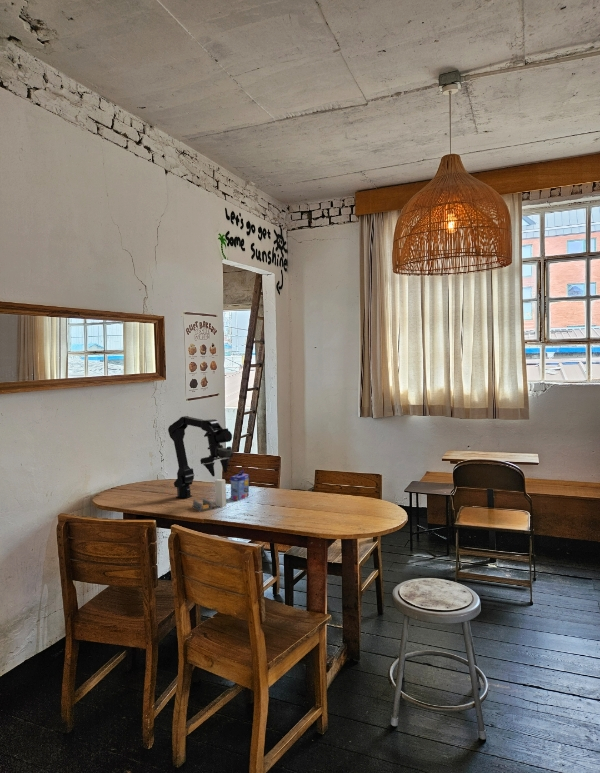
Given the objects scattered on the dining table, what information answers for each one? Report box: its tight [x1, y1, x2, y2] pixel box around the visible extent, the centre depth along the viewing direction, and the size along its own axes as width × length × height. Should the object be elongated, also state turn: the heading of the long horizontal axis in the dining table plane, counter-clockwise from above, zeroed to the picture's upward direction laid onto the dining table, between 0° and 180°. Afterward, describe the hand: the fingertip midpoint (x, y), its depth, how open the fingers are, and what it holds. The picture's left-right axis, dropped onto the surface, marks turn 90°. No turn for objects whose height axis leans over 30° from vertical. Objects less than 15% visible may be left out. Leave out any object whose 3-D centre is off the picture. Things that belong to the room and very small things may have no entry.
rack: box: [192, 498, 214, 512], centre depth 258 cm, size 9×7×3 cm
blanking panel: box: [214, 478, 227, 508], centre depth 261 cm, size 5×2×13 cm, turn 49°
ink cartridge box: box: [230, 470, 250, 501], centre depth 275 cm, size 10×6×14 cm, turn 152°
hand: (219, 474), depth 267 cm, fingers open, 9 cm apart
